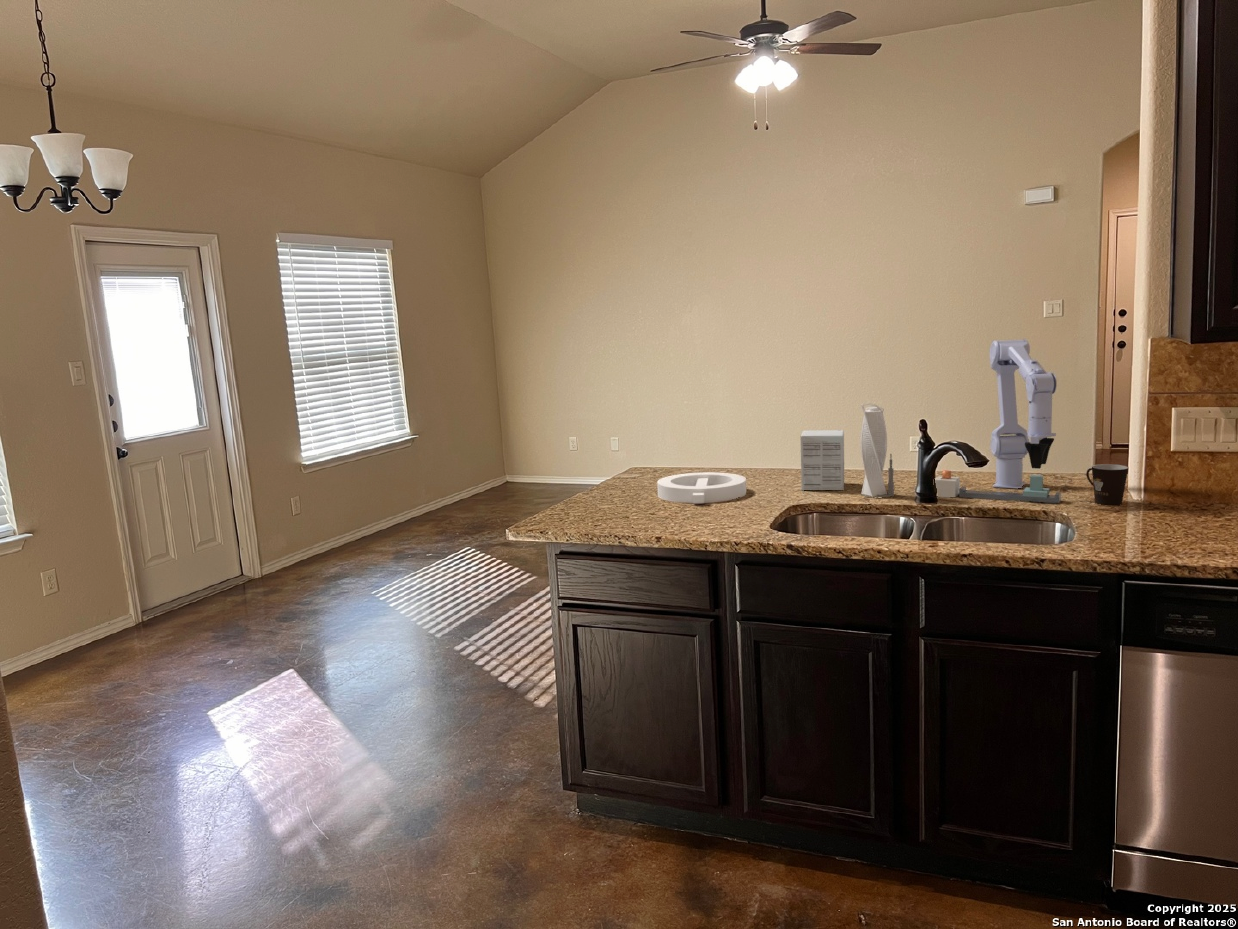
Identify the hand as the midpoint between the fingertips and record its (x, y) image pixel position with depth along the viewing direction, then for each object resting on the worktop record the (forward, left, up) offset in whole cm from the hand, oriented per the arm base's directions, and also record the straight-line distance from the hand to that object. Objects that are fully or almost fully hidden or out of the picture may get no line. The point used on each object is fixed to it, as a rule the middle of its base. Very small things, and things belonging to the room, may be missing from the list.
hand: (1038, 466), depth 242 cm
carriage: (0, -1, -8) cm, 8 cm away
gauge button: (0, -25, -5) cm, 25 cm away
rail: (0, -8, -10) cm, 12 cm away
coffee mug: (-4, +16, -10) cm, 20 cm away
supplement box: (-1, -63, -10) cm, 63 cm away
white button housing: (0, -25, -10) cm, 26 cm away
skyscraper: (+7, -44, -10) cm, 45 cm away
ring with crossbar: (+21, -95, -11) cm, 97 cm away
